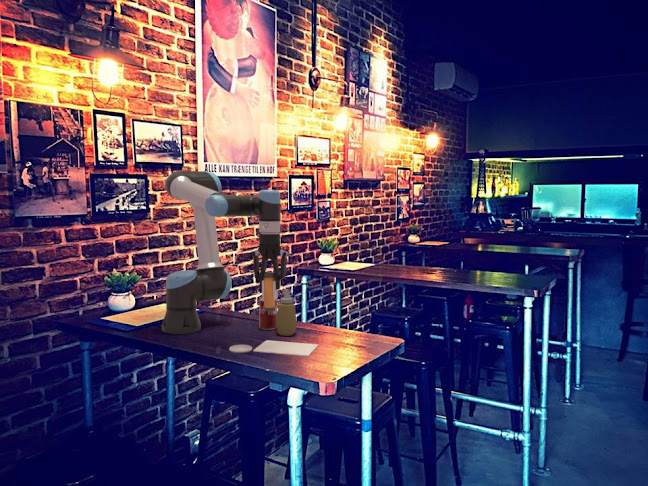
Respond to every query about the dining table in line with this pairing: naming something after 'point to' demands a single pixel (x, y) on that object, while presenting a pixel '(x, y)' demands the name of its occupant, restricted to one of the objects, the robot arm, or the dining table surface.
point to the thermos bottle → (269, 291)
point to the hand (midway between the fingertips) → (269, 298)
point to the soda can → (267, 317)
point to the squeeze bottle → (286, 316)
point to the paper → (286, 348)
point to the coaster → (240, 348)
